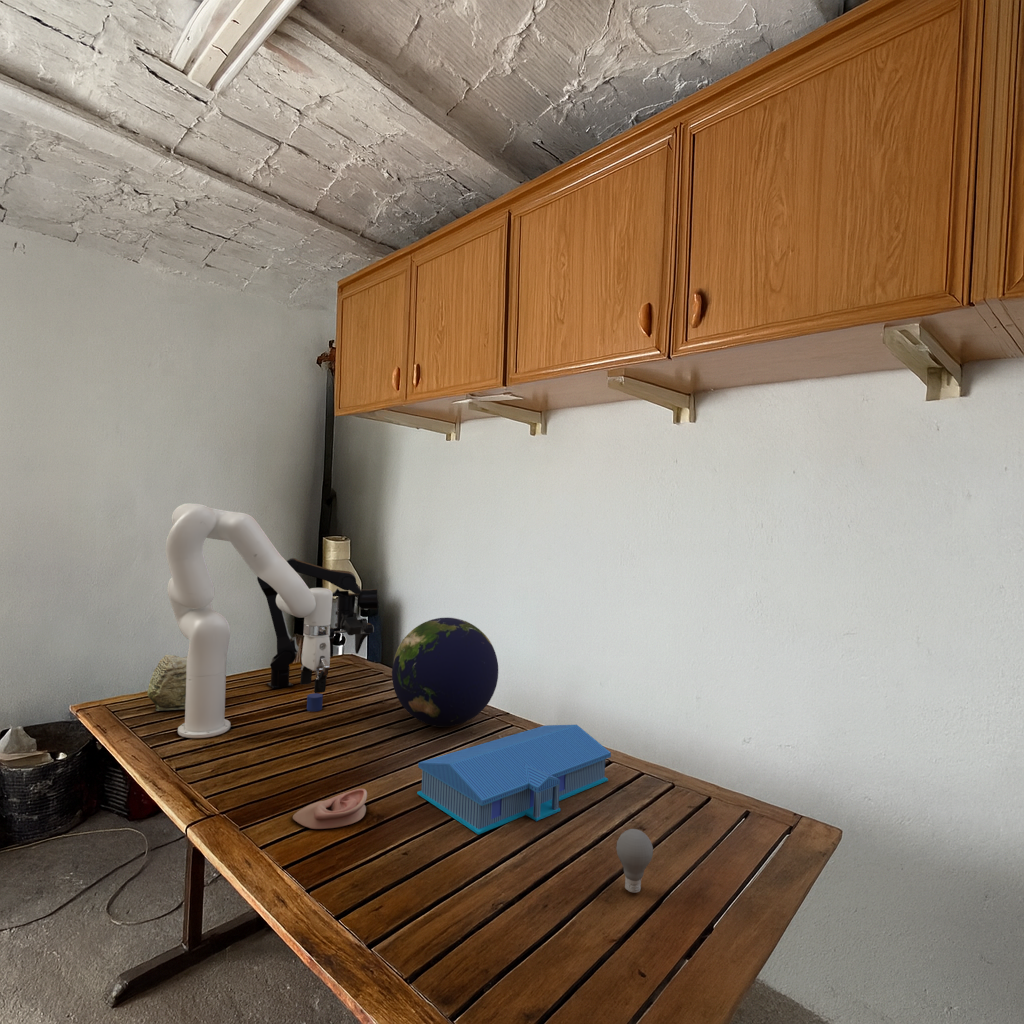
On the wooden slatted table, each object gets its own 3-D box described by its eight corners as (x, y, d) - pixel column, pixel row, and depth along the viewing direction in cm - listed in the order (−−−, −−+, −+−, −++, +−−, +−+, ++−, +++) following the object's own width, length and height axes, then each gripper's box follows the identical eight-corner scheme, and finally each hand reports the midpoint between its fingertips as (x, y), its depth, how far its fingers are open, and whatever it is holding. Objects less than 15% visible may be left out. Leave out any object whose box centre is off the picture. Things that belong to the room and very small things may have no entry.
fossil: (144, 707, 182) (145, 655, 182) (212, 696, 194) (213, 647, 194) (151, 716, 175) (153, 662, 175) (221, 703, 188) (223, 653, 188)
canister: (324, 710, 187) (325, 696, 187) (309, 712, 184) (310, 698, 184) (318, 705, 191) (319, 692, 191) (304, 708, 188) (305, 694, 188)
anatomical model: (284, 804, 122) (315, 778, 133) (284, 824, 122) (314, 797, 133) (348, 814, 119) (374, 787, 130) (348, 835, 119) (373, 806, 130)
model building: (489, 841, 119) (491, 789, 119) (416, 793, 137) (417, 747, 137) (619, 785, 145) (621, 742, 145) (543, 750, 163) (545, 712, 163)
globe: (368, 731, 171) (372, 620, 171) (424, 700, 199) (427, 605, 198) (467, 752, 160) (472, 634, 160) (512, 716, 188) (516, 616, 187)
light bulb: (610, 879, 108) (613, 822, 108) (644, 879, 109) (647, 822, 109) (619, 902, 102) (622, 840, 102) (655, 901, 103) (658, 840, 103)
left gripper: (341, 634, 183) (337, 694, 183) (316, 624, 196) (312, 679, 196) (317, 636, 178) (312, 697, 178) (292, 625, 191) (288, 682, 191)
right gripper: (330, 615, 201) (328, 664, 202) (382, 610, 214) (380, 656, 214) (315, 609, 210) (313, 656, 210) (366, 605, 222) (365, 650, 222)
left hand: (312, 688), depth 187 cm, fingers open, 9 cm apart
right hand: (344, 655), depth 214 cm, fingers open, 9 cm apart
